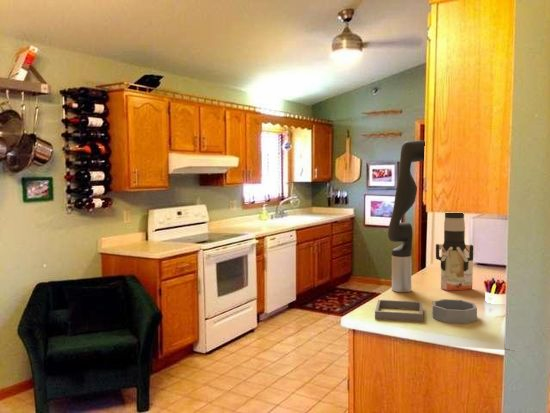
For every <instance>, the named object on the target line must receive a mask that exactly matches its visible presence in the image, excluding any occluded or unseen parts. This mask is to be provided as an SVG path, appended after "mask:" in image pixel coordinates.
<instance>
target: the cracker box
mask: <svg viewBox="0 0 550 413" xmlns="http://www.w3.org/2000/svg"><path fill="white" fill-rule="evenodd" d="M440 251H441V252H440V253H441V256H440V257H442V256H443V254H444V252H445V249H444V248H443V247H442V248H441V250H440ZM464 255H465V256H466V258H468V257H469V250H468V249H467V248H465V249H464ZM444 261H445V260H444ZM473 271H474V259H473V260H472V261H469V262H468V270H466V271H464V281H456V282H450V281H447V280H444V271H443V269H441V268H440V289H442V290H444V291H447V292H450V291H451V292H452V291H466V290H473V281H474V280H473V279H474V278H473V274H474V272H473Z"/></svg>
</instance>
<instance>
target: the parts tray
mask: <svg viewBox="0 0 550 413" xmlns="http://www.w3.org/2000/svg"><path fill="white" fill-rule="evenodd" d="M384 307H386V308H388V309H401V308H404V309H405V310H419V312H418V313H417V312H404V311H403V312H402V311H400V312H399V311H387V310H386V311H383V310H381V308H384ZM423 316H424V314H423V301H408V300H391V299H390V300H389V299H378V300H377V303H376V307H375V309H374V319H375V320H385V319H386V320H387V321H399V322H400V321H402V322H417V323H418V322H419V323H423V321H424V320H423V318H424V317H423Z"/></svg>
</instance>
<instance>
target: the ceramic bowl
mask: <svg viewBox="0 0 550 413" xmlns="http://www.w3.org/2000/svg"><path fill="white" fill-rule="evenodd" d="M431 307H432V311H431V312H432V313H431V314H432V318H433V319H434V320H436V321H440V322H444V323H446V324H447V323H448V324H458V325H459V324H460V325H465V324H471V323H474V322H477V321H478V307H477V305H476V303H474V302H470V301H467V300H462V299H450V298H449V299H448V298H443V299H442V298H441V299H438V300H434V301H432V306H431Z"/></svg>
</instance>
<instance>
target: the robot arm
mask: <svg viewBox="0 0 550 413" xmlns="http://www.w3.org/2000/svg"><path fill="white" fill-rule="evenodd" d="M425 142H426V141H425V140H408V141H407V140H406V141H405V142H403V143H402V146H401V148H400V158H399V160H400V161H399V170H398V171H399V172H398V179H397V185H396V189H395V195H394V201H393V208H392V212H391V216H390V221H389V224H388V230H387V235H388V239H389V241H390V242H393V243H394V242H395V243H397V242H399V243H400V242H401V244H400V245H399V246H397V247H395V248H393V249H392V250H391V290H392V291H393V292H396V293H409V292H411V291H412V251H413V249H412V248H413V232H414V231H413V226H412V224H411V222H406V221H405V222H402V219H403V217H404V215H406V213H407V212H408V211H410V209H411V208H412V207H413V205H415V202H416V197H417V193H418V186H417V183H416V181H415V179H414V178H413V175H412V173H411V168H412V163H414V162H415V163H416V162H418V163H419V162H424V146H425ZM443 222H444V223H443V243H441V244H440V243H439V244H438V243H436V244H435V259H436V260H437V261H440V270H441V269H443V271H445V261H444V260H445V258H446V257H447V256H448V251H449V250H450V251H452V250H456V251H458V252H459V253H460V255H461V256H462V258H463V259H464V271H466V270H468V262H469V261H472V260H473V261H474V245H473V244H466V242H465V241H466V240H465V237H466V236H465V235H466V234H465V233H466V232H465V231H466V230H465V229H466V222H465V213H464V214H463V213H445V212H444V221H443ZM442 247H443V248H444V249H445V250H446V253H445V252H444V254H443V256H442V257H441V256H440V251H442ZM465 248H467V249H468V250H469V257H468V258H466V256H465V255H464V253H463V250H464V249H465Z"/></svg>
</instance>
